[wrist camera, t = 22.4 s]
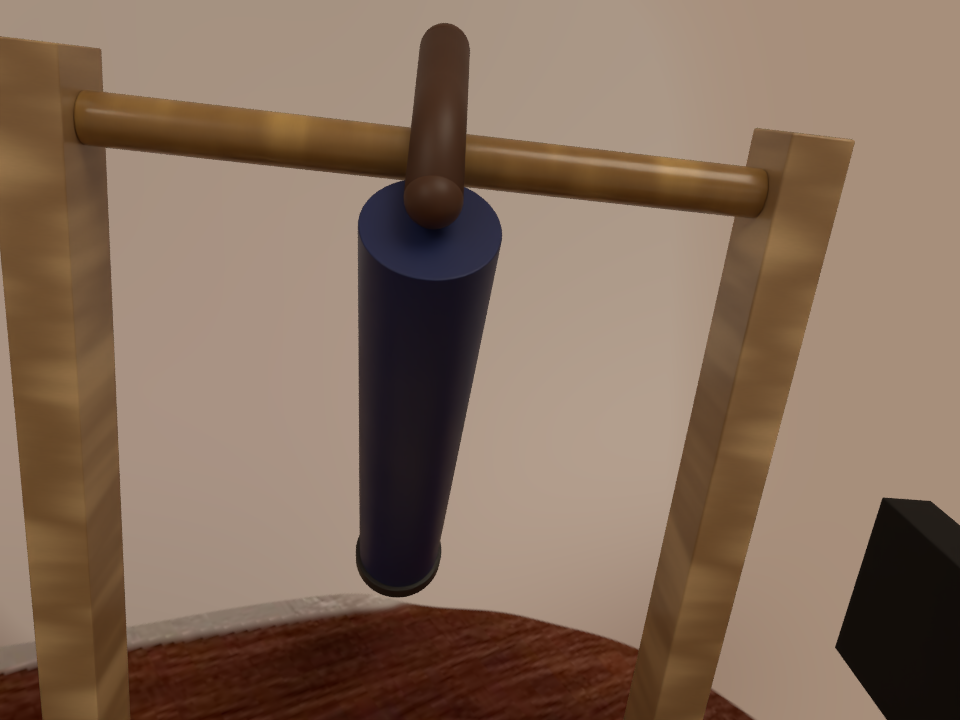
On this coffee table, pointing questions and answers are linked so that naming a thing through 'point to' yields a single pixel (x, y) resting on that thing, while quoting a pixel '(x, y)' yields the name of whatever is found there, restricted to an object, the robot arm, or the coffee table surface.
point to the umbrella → (420, 327)
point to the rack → (384, 153)
